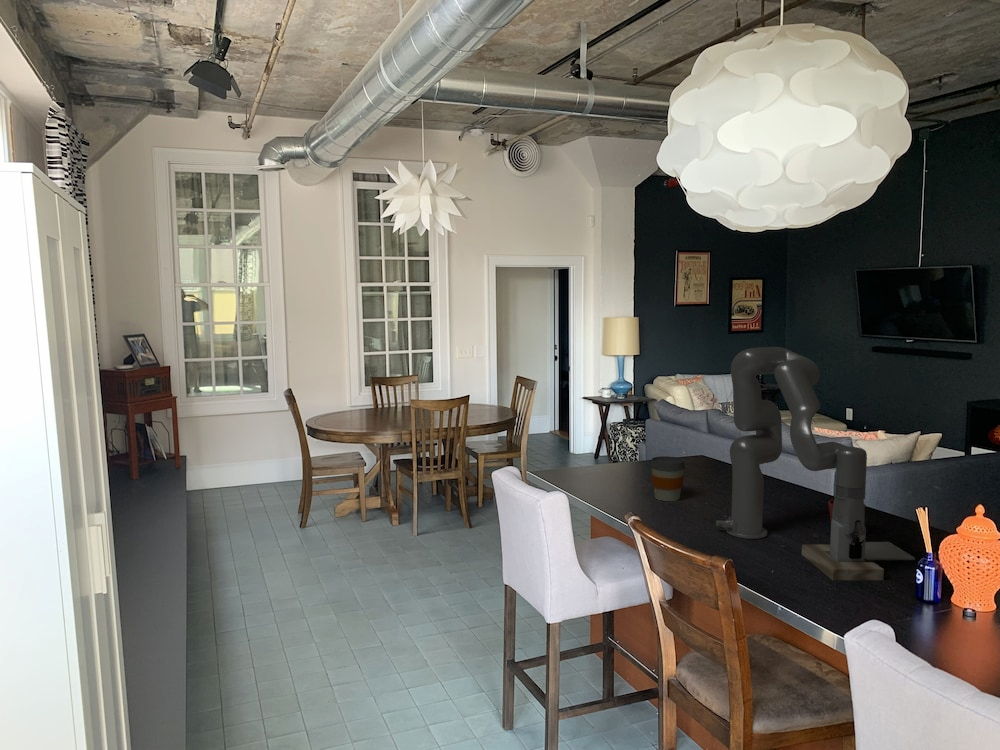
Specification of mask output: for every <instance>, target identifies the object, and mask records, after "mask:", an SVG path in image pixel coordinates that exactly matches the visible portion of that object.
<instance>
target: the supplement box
mask: <svg viewBox="0 0 1000 750" xmlns="http://www.w3.org/2000/svg"><path fill="white" fill-rule="evenodd" d="M830 523H831V524H830V541H829V543H830V556H831V557H833V558H834V559H835V560H836V561H838V562H866V560H865V542H866V537H867V536H865V538H864V542H863V545H862V556H861V559H850V558H849V544H851V541H850V535H845V534H844V526H842V525H841V524H840V523H837V522H836V521H834V520H833V519H832V520H831V519H830ZM864 531H865V533H866V534H867V527H866V526H865V525H864ZM853 533H858V532H857V529H856V527H855V529H854V531H853ZM853 537H854V540H855V538H856V537H858V536H853Z"/></svg>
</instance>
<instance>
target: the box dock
mask: <svg viewBox="0 0 1000 750" xmlns="http://www.w3.org/2000/svg"><path fill="white" fill-rule="evenodd" d="M801 555H802V556H803V557H804V558H805V559H806V560H808V561H809V562H810V563H811V564H812V565H813V566H815V567H816V568H817V569H818V570H819V571H821V572H822V573H823V574H824V575H826V576H827V577H828V578H829V579H830V580H831V581H833V582H834V581H884V576H885V575H884V573H885V569H884V568H883V567H881V566H880V565H879V564H878V563H875V562H874V561H864V562H838V561H836V560H835V559H834V558H833V557H831V556H830V544H801Z"/></svg>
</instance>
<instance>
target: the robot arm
mask: <svg viewBox="0 0 1000 750" xmlns="http://www.w3.org/2000/svg"><path fill="white" fill-rule="evenodd" d="M773 374H774V379H775V381H776V384H777V386H778V388H779V390H780V392H781V395H782V397H783V400H784V401H785V404H786V405H787V407H788V410H789V412H790V415H791V419H790V426H789V427H790V428H789V438H790V442H791V445H792V447H793V450H794V452H795V454H796V456H797V459H798V460H799V463H801V465H802V466H803V468H805V469H807V470H809V471H810V472H820V471H824V470H833V469H835V486H834V487H835V490H834V503H833V512H832V519H833V520H834V521H836V522H837V523H840V524H841V525H842V526H844V534H845V535H850V541H851V544H849V558H850V559H861V556H862V545H863V542H864V538H865V536H866V535H867V532H866V533H865V531H864V526H865V525H866V524H865V522H866V520H865V519H866V518H865V513H866V512H864V504H865V501H864V500H865V499H866V486H867V485H866V484H867V483H866V481H867V462H868V453H867V452H866V450H865V449H864V448H862V447H856V446H849V445H845V444H842V443H840V442H837V441H827V442H826V441H825V442H819V443H817V440H816V438H815V436H814V434H813V431H812V421H813V418H814V416H815V415H816V413H818V412H819V410H820V408H821V402H820V401H819V398H818V396H817V393H816V392H815V390H814V388H813V386H814V385H816V384H817V383H818V382H819V380H820V378H821V377H820V376H821V373H820V369H819V366H818V365H817V363H816V362H815V361H813V360H811V359H810V358H809V357H806V356H804V355H801V354H799V353H796V352H794V351H792V350H790V349H787V348H784V347H781V346H766V347H764V346H761V347H759V346H758V347H751V348H747V349H744V350H742V351H740V352H738V353H737V354H736V355H735V356H734V357H733V359H732V361H731V364H730V376H731V382H732V400H733V401H732V404H733V405H732V406H733V408H732V409H733V423H734V425H735V427H736V429H738V430H739V431H741V432H755V434H750V435H744V436H740V437H738V438H736V439H735V440H733V442H732V443H731V445H730V448H729V456H730V457H729V458H730V462H731V470H732V473H731V474H732V475H731V478H732V479H731V480H732V481H731V515H730V516H728V518H727V519H725V520H723V519H722V520H721V519H719V520H718V519H717V520H715V525H716V527H722V528H723V529H725V532H726V533H727V534H728V535H730V536H732V537H736V538H740V539H748V540H749V539H750V540H754V539H755V540H756V539H762V538H765V537H767V536H768V530H767V529H766V528H765V527H763V517H764V516H763V513H764V511H763V510H764V487H765V486H764V485H765V484H764V483H765V482H764V474H763V472H762V470H761V467H760V465H763V464H769V463H773V462H775V461H777V460H778V459H780V456H781V455H782V449H783V435H782V434H783V433H782V432H783V431H782V430H783V429H782V427H783V426H782V415H781V411H780V409H779V407H778V406H777V404H776V403H774V402H773V401H771V400H769V399H762V388H761V383H760V381H759V379H758V378H757V376H760V375H773ZM855 527H856V529H857V532H858V533H853V531H854V529H855ZM853 536H858V537H856V538H855V540H854V537H853ZM866 537H867V536H866ZM865 539H866V538H865Z"/></svg>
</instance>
